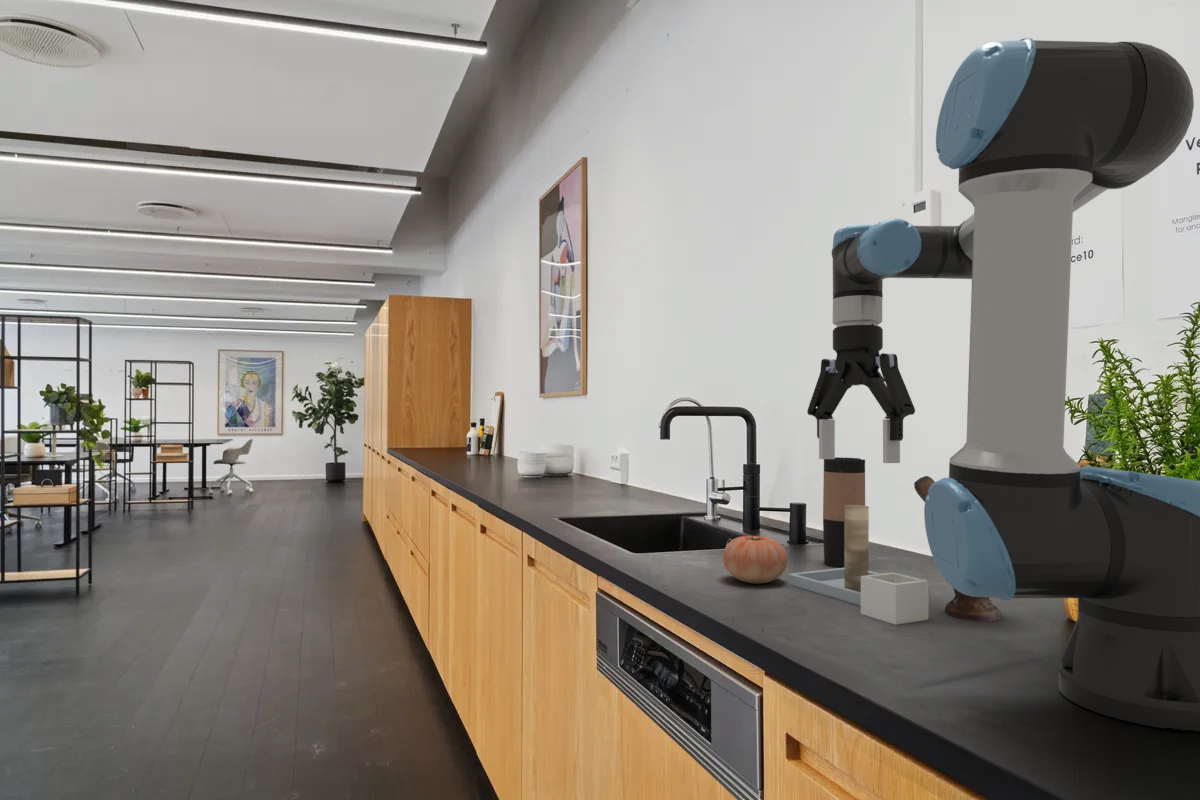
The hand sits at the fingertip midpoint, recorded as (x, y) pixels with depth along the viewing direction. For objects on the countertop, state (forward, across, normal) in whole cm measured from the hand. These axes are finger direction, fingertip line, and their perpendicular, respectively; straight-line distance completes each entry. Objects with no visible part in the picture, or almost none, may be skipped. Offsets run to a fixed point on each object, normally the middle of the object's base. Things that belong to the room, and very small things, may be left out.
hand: (857, 461), depth 125 cm
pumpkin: (+21, +16, +8) cm, 28 cm away
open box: (+21, -13, +7) cm, 26 cm away
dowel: (+20, +1, 0) cm, 20 cm away
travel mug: (+21, +20, -17) cm, 34 cm away
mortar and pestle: (+22, -17, -3) cm, 27 cm away
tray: (+21, +1, 0) cm, 21 cm away
